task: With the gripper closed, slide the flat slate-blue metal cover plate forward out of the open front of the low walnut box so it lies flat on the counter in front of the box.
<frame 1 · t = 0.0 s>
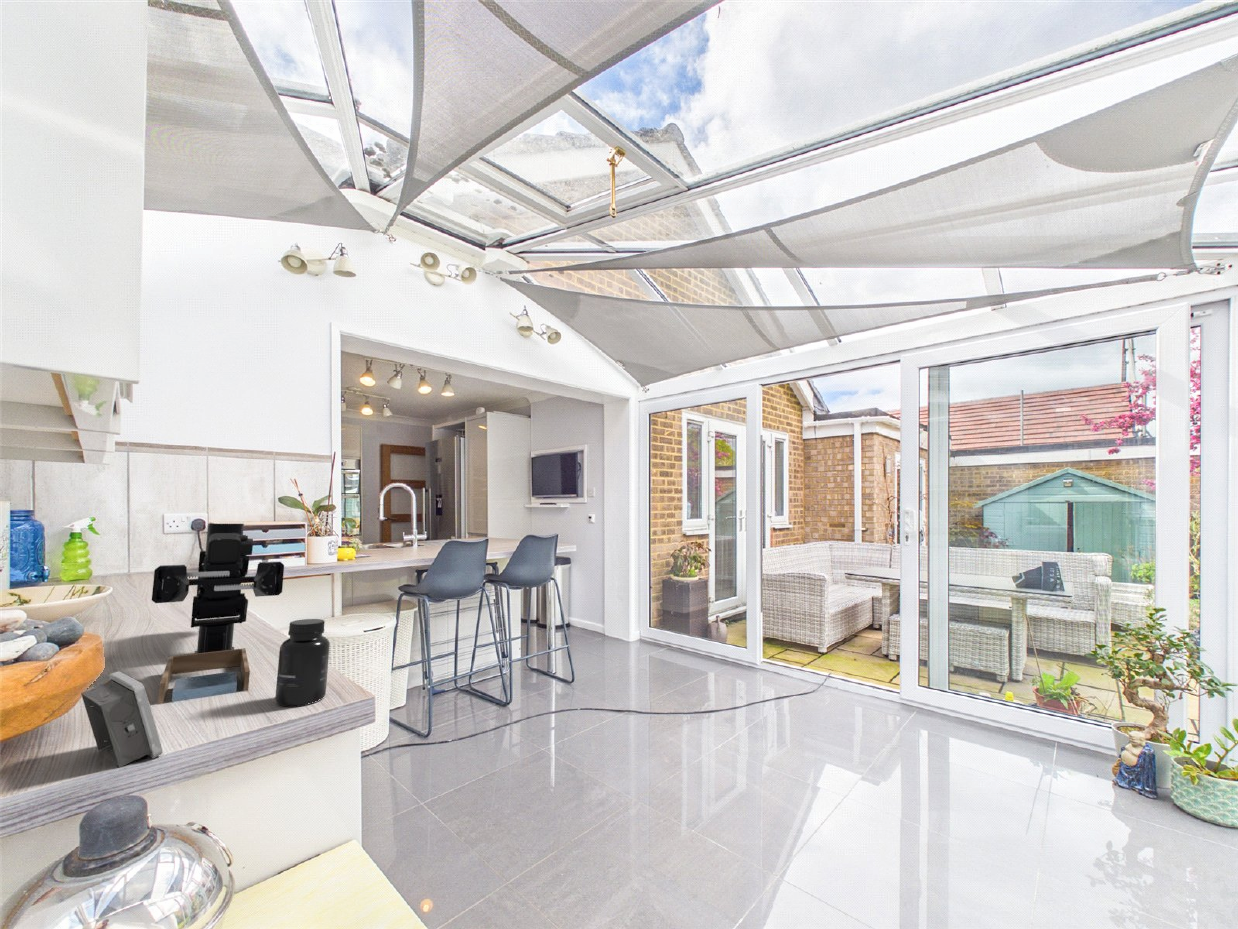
hand: (222, 586, 89), 17 cm above the counter, tool horizontal, fingers open, 9 cm apart
cover plate: (205, 693, 86), on the counter
supplement bottle: (301, 701, 82), on the counter
open box: (206, 682, 90), on the counter
electrical switch: (120, 758, 63), on the counter
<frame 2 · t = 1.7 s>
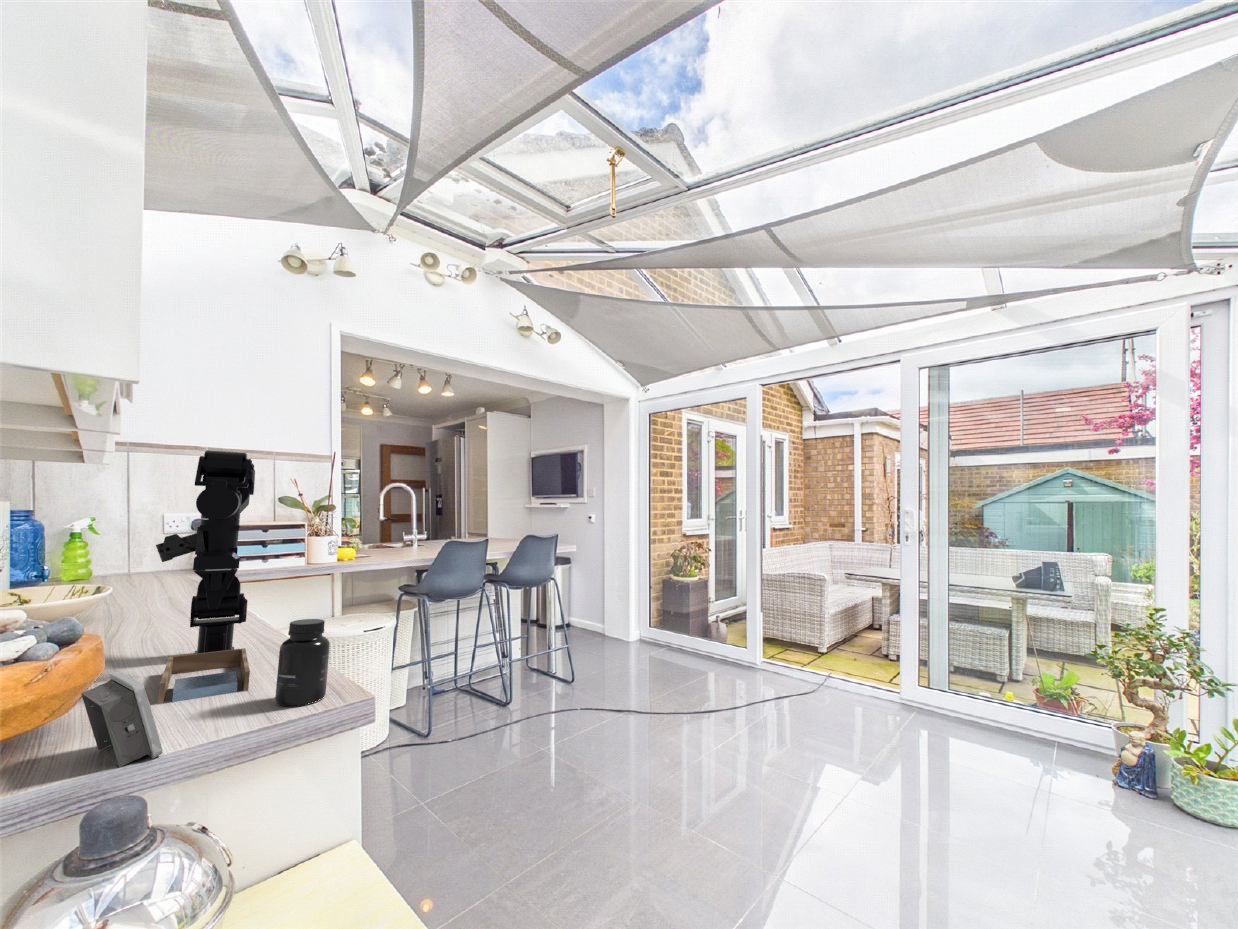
hand: (212, 606, 95), 12 cm above the counter, tool pointing down, fingers open, 6 cm apart
nothing on the counter moved.
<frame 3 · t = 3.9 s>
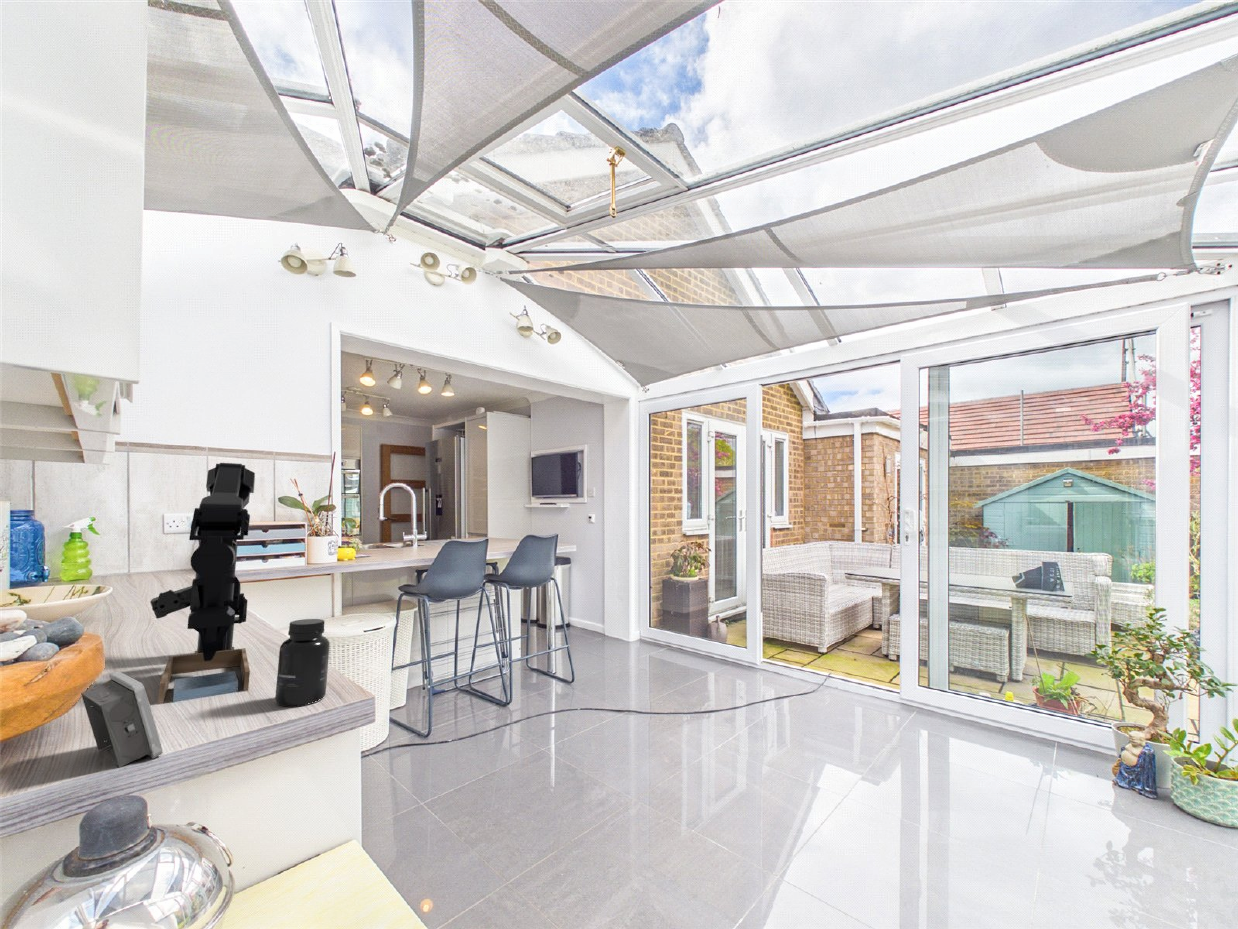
hand: (207, 660, 94), 3 cm above the counter, tool pointing down, fingers closed
nothing on the counter moved.
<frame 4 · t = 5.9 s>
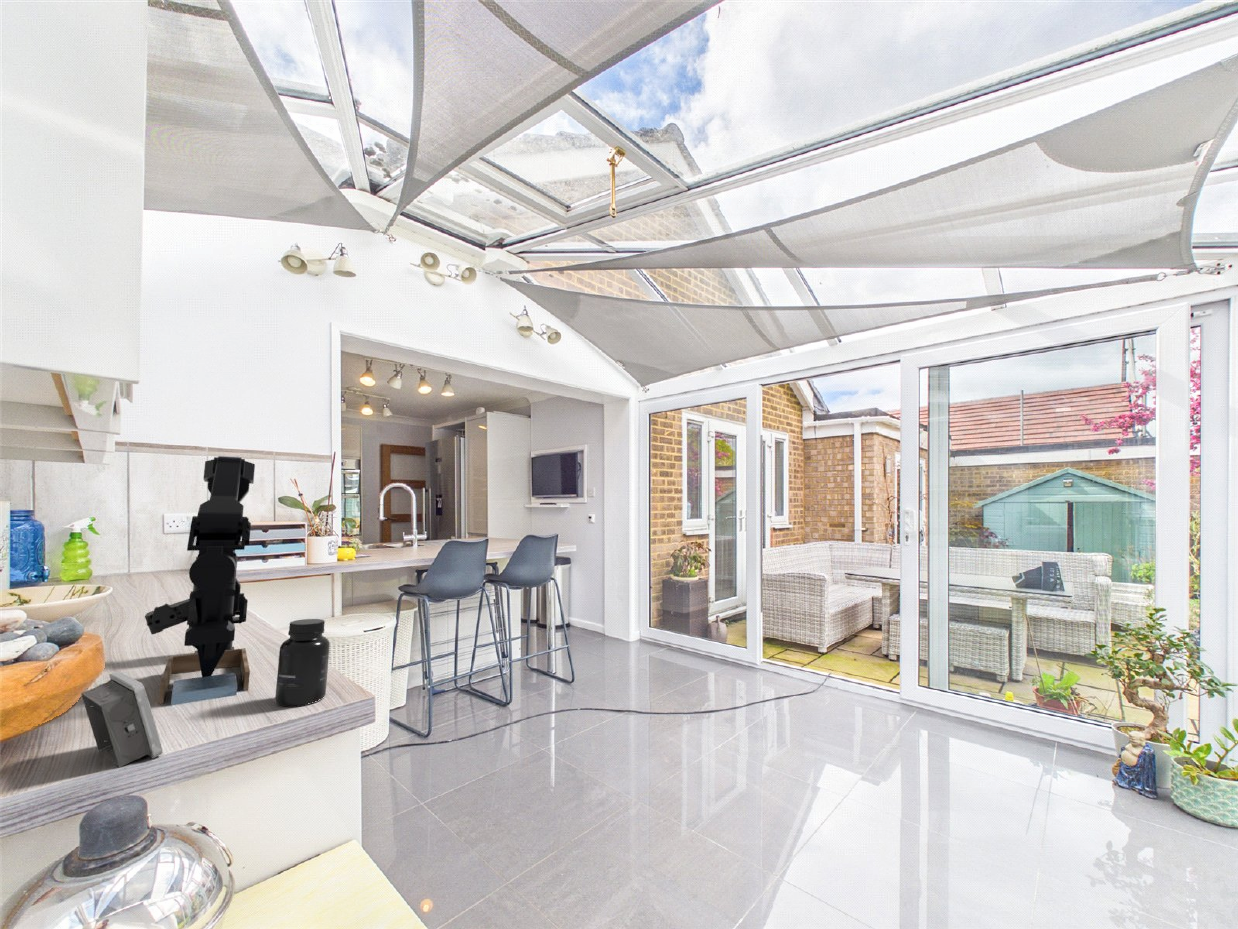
hand: (206, 678, 89), 1 cm above the counter, tool pointing down, fingers closed
cover plate: (204, 695, 85), on the counter, touching gripper
everything else where it was.
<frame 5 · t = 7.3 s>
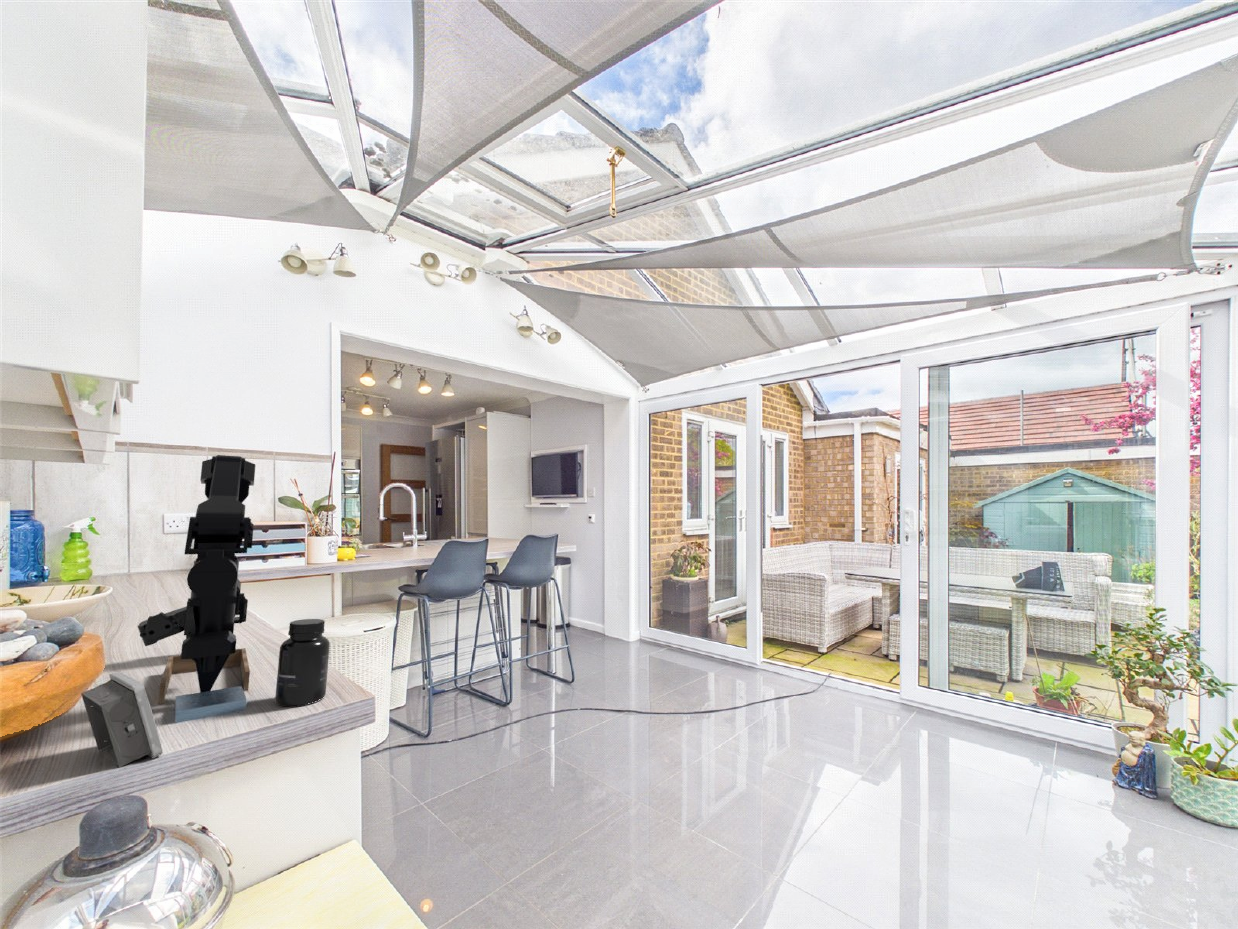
hand: (205, 693, 81), 1 cm above the counter, tool pointing down, fingers closed
cover plate: (209, 712, 78), on the counter
everything else where it was.
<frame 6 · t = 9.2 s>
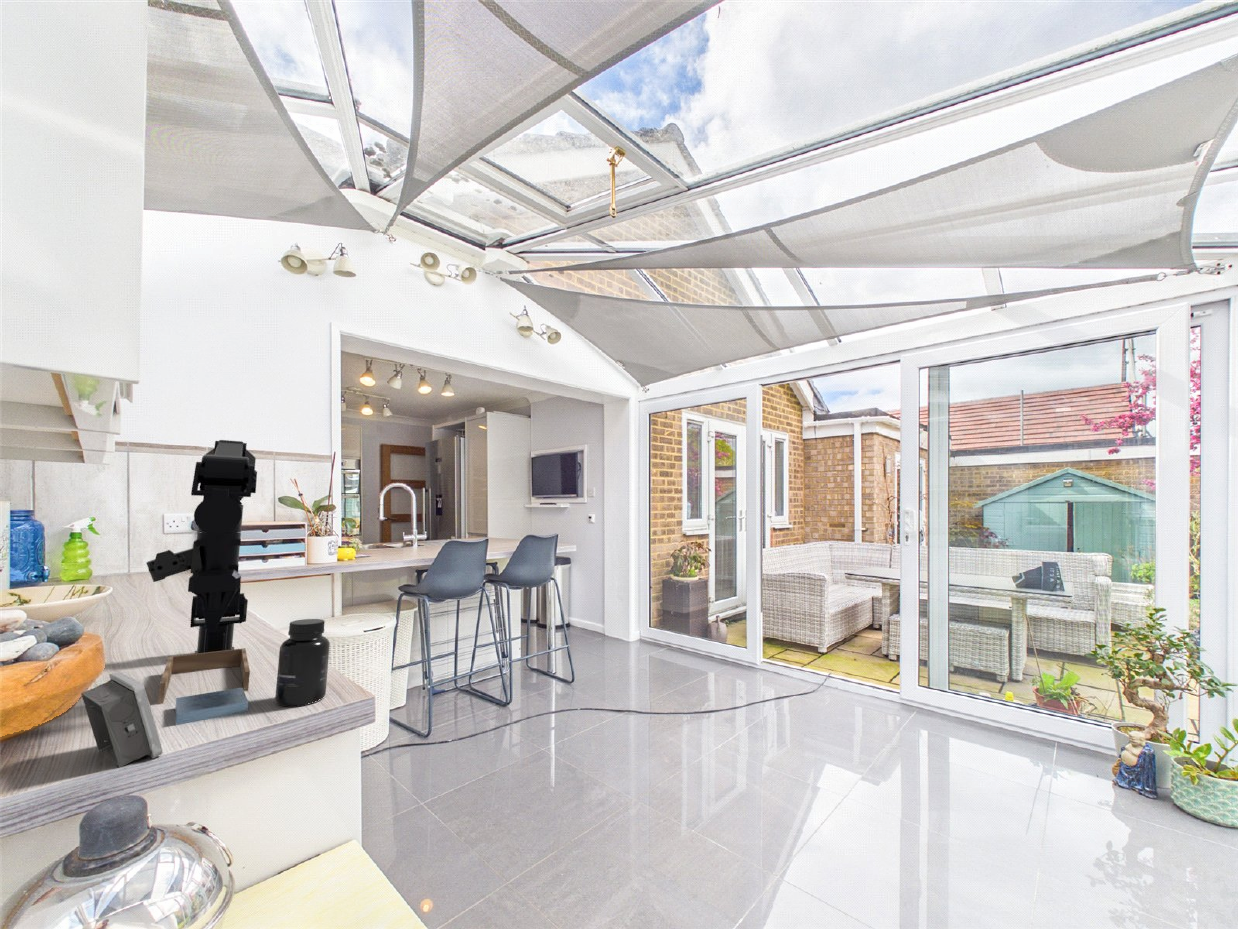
hand: (210, 630, 85), 10 cm above the counter, tool pointing down, fingers closed
nothing on the counter moved.
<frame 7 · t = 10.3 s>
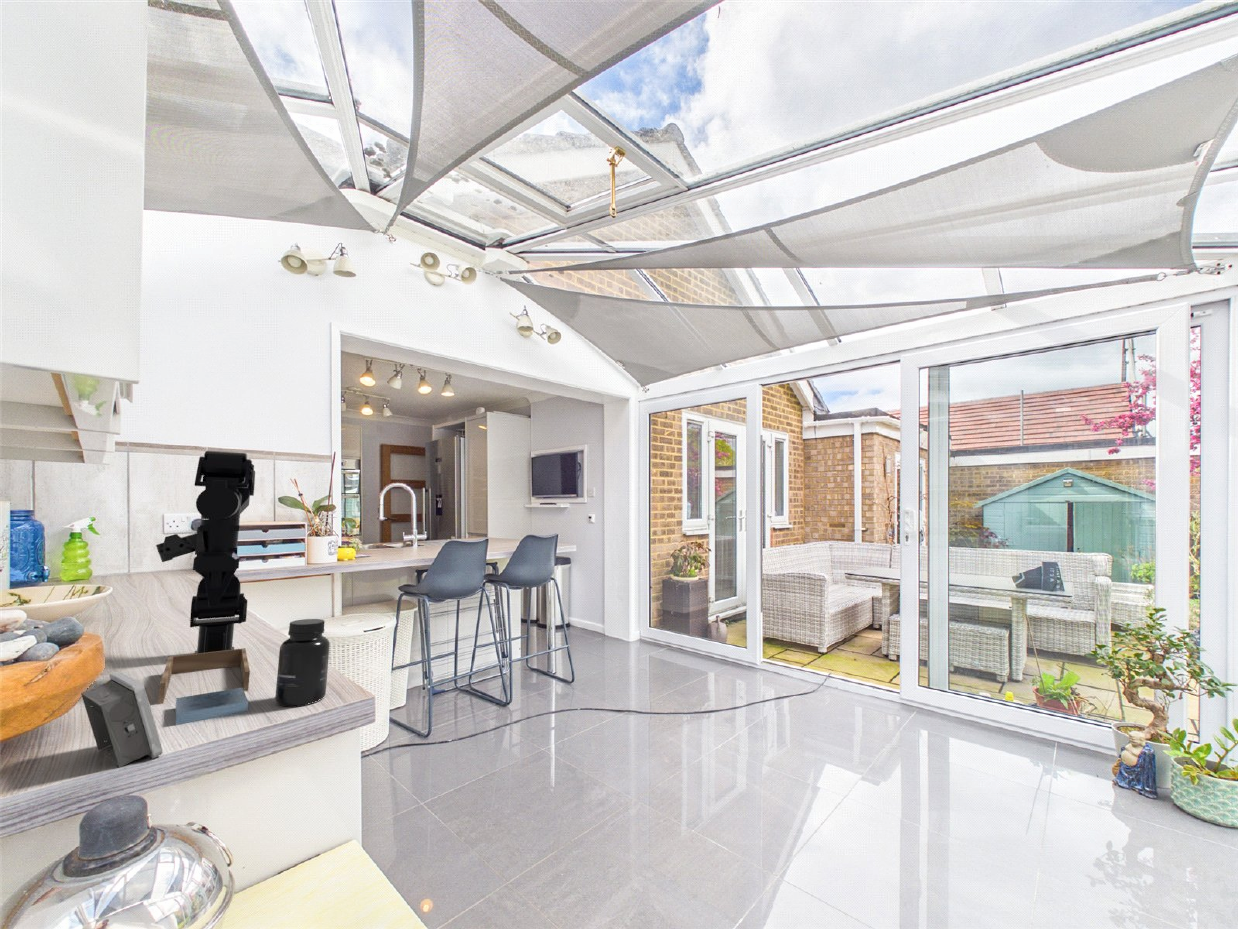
hand: (212, 606, 95), 12 cm above the counter, tool pointing down, fingers closed
nothing on the counter moved.
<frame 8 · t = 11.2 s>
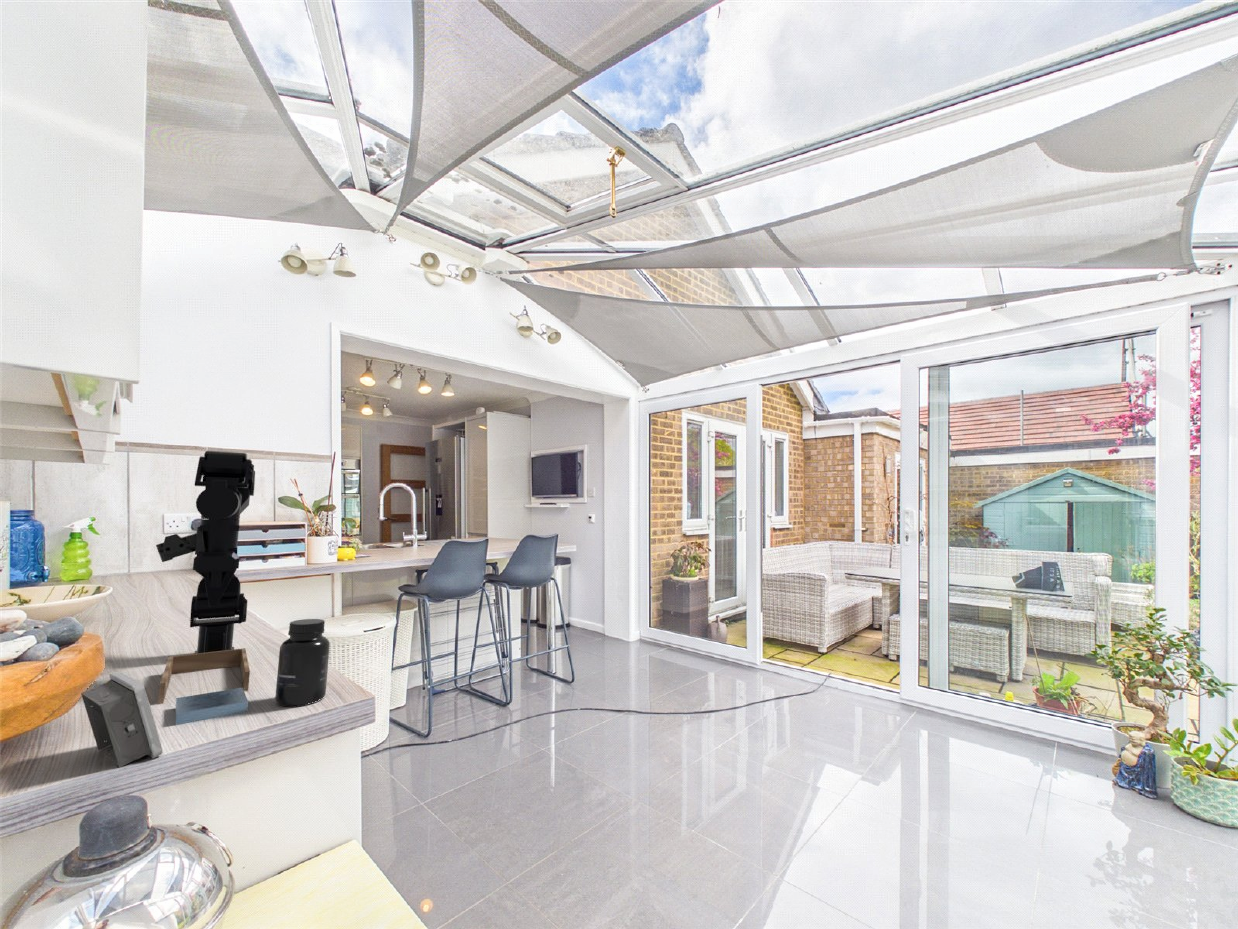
hand: (212, 606, 95), 12 cm above the counter, tool pointing down, fingers closed
nothing on the counter moved.
at the end: cover plate inside the target area (1.8 cm from its centre), on the counter; cover plate touching counter; cover plate tilted 0° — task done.
